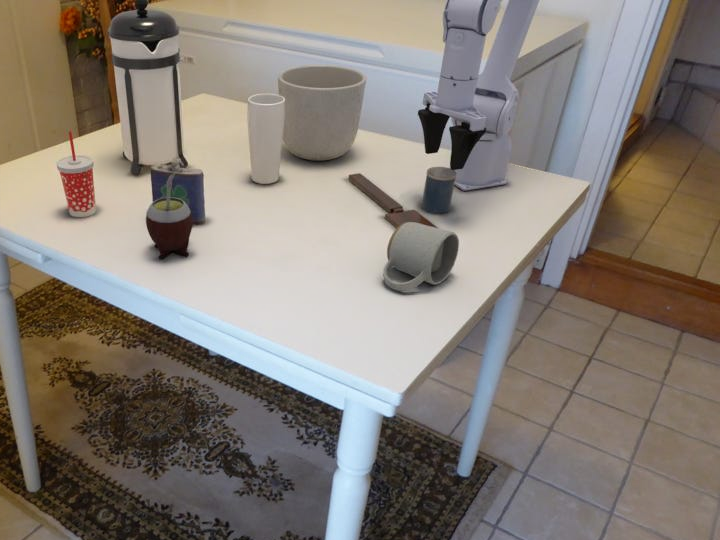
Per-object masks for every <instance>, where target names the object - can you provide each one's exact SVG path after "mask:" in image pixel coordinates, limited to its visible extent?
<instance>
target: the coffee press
mask: <svg viewBox="0 0 720 540" xmlns="http://www.w3.org/2000/svg"><path fill="white" fill-rule="evenodd" d="M134 5H135V7H136V8H137V9H133V10H127V11H123V12H120V13H118V14H116V15H115V16H114V17H113V18H112V19H111V21H110V24H109V28H107V36H108V38H109V39H110V45H111V51H110V55H111V64H112V66H113V71H114V79H115V88H116V90H115V91H116V98H117V106H118V115H119V124H120V132H121V141H122V149H123V151H122V157H123V158H125V159H128V160H129V161H130V162H132V163H131V166H130V174H132V175H136V176H140V174H141V172H142V170H143V167H144V166H154V165H160V164H161V163H163V165H164V164H165V165H167V164H169V163H171V162H170V160H171V159H176V158H178V159H181V161H180V162H179V164H180V165H179V166H180V168H189V162H188V161H187V159H186V157H185V155H184V152H185V142H184V141H185V139H184V138H185V137H184V123H183V122H184V121H183V104H182V103H183V102H182V89H181V87H182V86H181V70H180V61H181V49H180V48H179V35H180V26H179V25H177V21H176V19H175V18H174V16H172V15H171V14H169V13H168V12H165V11H162V10H157V9H147V7H148V5H149V1H148V0H134ZM178 159H176V160H178Z"/></svg>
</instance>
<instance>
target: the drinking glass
mask: <svg viewBox="0 0 720 540" xmlns="http://www.w3.org/2000/svg"><path fill="white" fill-rule="evenodd" d="M246 110H247V113H246V114H247V116H246V117H247V118H246V120H247V132H248V133H247V135H248V145H249V146H248V147H249V156H250V157H249V158H250V178H251V180H252V181H253V182H254V183H257V184H261V185H271V184H274V183H276V182H278V180H279V179H280V170H281V169H280V168H281V167H280V166H281V160H282V159H281V158H282V151H283V150H282V149H283V143H284V142H283V134H284V125H285V98H284V97H282V96H280V95H279V94H276V93H257V94H252V95H251V96H249V97H248V98H247V109H246Z"/></svg>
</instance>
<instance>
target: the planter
mask: <svg viewBox="0 0 720 540" xmlns="http://www.w3.org/2000/svg"><path fill="white" fill-rule="evenodd" d="M277 81H278V85H277V86H278V87H277V88H278V95H280V96H282V97H284V98H285V125H284V134H283V142H282V143H283V144H284V145H285V147H286V148H287V150H288V151H289V152H290V153H292V155H294V156H295V157H298V158H300V159H303V160H308V161H313V162H315V161H316V162H317V161H319V162H320V161H330V160H334V159H337V158H340V157H341V156H343V155H345V154H346V153H347V152H348V151H349V150H350V149H351V147H352V146H353V144H354V143H355V140H356V138H357V135H358V132H359V131H358V130H359V125H360V119H361V115H362V114H361V113H362V107H363V101H364V96H365V90H366V84H367V76H366V75H365V74H364V73H363V72H362V71H359V70H357V69H354V68H352V67H351V68H350V67H346V66H340V65H333V64H332V65H329V64H310V65H309V64H308V65H299V66H294V67H290V68H287V69H285V70H283V71H281V72H280V73H279V74H278V75H277Z"/></svg>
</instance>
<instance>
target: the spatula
mask: <svg viewBox="0 0 720 540" xmlns="http://www.w3.org/2000/svg"><path fill="white" fill-rule="evenodd" d="M348 181H349V182H351V183H352V184H353V185H354V186H356V188H357V189H359V190H360V191H361V192H363V193H364V194H365V195H366V196H368V197H369V198H370V200H372V201H374V202H375V203H376V204H377V205H378V206H380V207H381V208H382V209H383V210H384V211H386V213H385V214H384V219H385V220H386V221H388V222H389V223H390V224H391V225H392V226H393V227H395V228H396V229H397V228H398V227H399V226H400V225H401V224H403V223H406V222H415V223H420V224H423V225H427V226H431V227H435V228H438V226H436V225H435V224H433V222H431V221H430V220H428V219H427V218H426V217H424V216H423V215H422V214H421V213H420V212H418V211H417V210H415V209H409V210H404V209H403V208H404V206H403V205H401V204H400V203H399V202H397V201H396V200H395V199H394V198H392V197H391V196H390V195H389V194H388V193H386V192H385V191H383V190H382V189H381V188H379V186H377V185H376V184H375V183H373V182H372V181H371V180H369V178H367V177H365V176H364V175H363V174H362V173H360V172H358V173H352V174H348Z"/></svg>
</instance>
